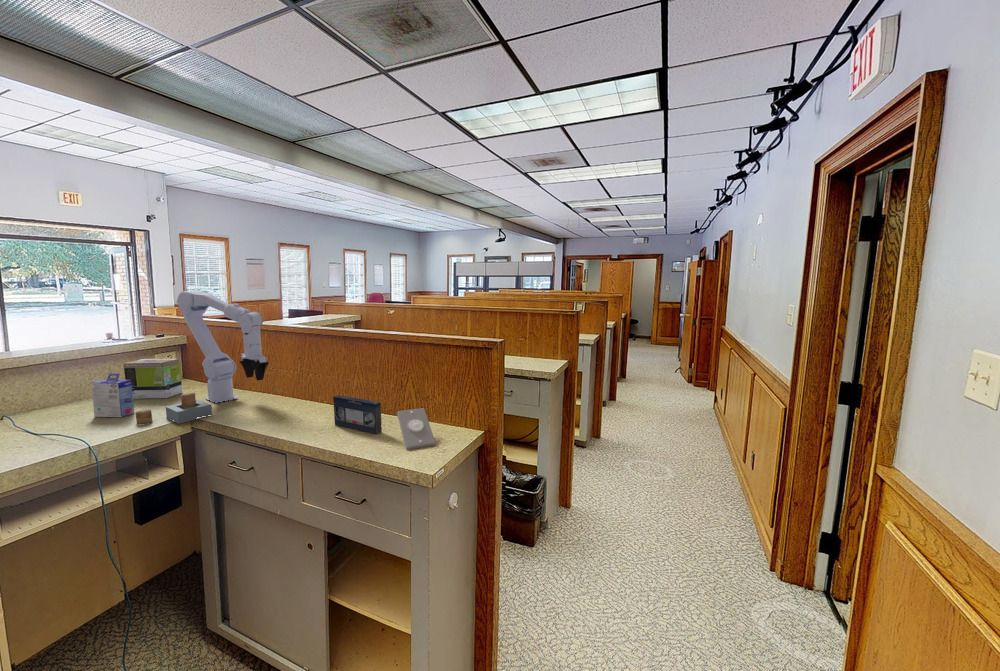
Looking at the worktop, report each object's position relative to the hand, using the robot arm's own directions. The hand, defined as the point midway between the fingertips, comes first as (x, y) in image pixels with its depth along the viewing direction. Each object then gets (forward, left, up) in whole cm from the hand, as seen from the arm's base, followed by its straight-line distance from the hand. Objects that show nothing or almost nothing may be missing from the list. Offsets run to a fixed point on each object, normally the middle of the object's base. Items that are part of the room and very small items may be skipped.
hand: (255, 378), depth 161 cm
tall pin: (-1, -22, -9) cm, 24 cm away
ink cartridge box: (-24, -36, -10) cm, 44 cm away
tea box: (-42, -19, -10) cm, 47 cm away
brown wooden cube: (-6, -33, -10) cm, 35 cm away
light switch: (+78, +8, -10) cm, 79 cm away
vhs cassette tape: (+56, +4, -10) cm, 57 cm away
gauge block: (-1, -22, -9) cm, 24 cm away
